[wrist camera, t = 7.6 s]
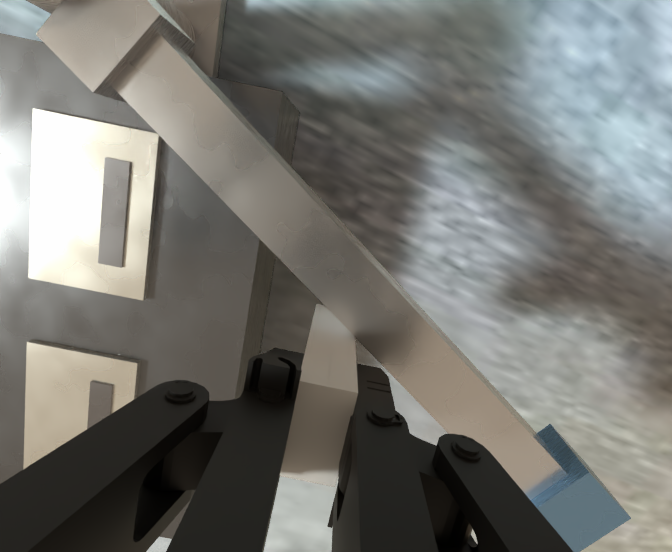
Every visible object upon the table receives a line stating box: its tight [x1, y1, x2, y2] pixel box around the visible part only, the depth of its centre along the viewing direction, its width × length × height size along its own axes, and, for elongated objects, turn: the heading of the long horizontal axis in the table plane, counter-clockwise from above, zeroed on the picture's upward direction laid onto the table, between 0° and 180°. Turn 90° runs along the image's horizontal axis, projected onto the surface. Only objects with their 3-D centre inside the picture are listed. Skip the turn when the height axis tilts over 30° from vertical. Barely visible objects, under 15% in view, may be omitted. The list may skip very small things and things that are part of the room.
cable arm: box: [36, 0, 631, 552], centre depth 14 cm, size 23×3×3 cm, turn 43°
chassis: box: [0, 33, 300, 539], centre depth 22 cm, size 22×14×6 cm, turn 169°
